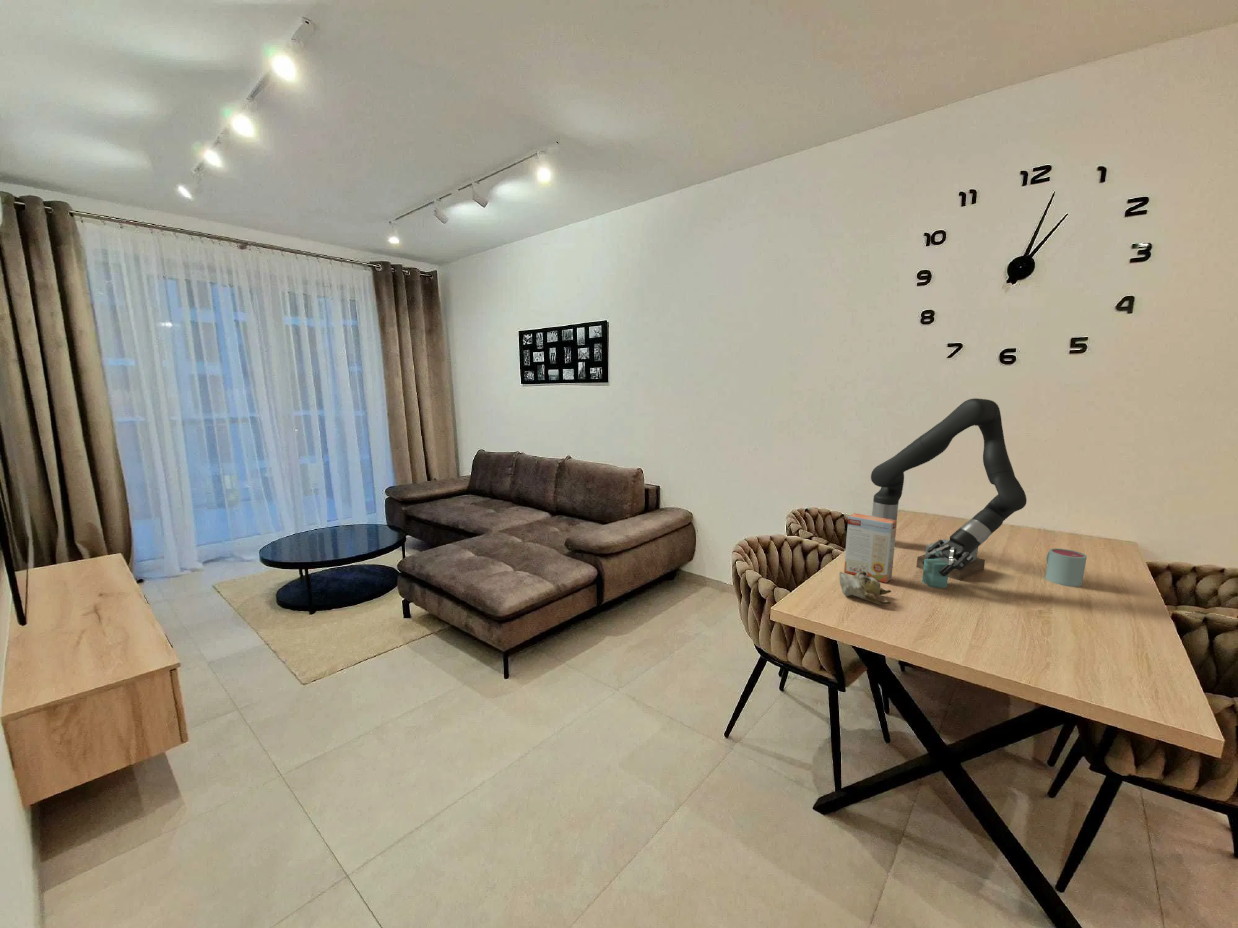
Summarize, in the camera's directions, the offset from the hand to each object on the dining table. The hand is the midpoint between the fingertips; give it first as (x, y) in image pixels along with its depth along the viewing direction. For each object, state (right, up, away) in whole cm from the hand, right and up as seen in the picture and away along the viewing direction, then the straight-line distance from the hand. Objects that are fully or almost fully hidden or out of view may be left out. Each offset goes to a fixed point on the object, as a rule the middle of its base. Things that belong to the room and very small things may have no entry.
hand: (932, 569), depth 161 cm
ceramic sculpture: (-28, -7, -10) cm, 30 cm away
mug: (+48, -5, +6) cm, 48 cm away
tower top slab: (+16, +1, +14) cm, 21 cm away
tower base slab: (+16, -3, +15) cm, 22 cm away
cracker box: (-17, -4, +8) cm, 20 cm away
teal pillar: (+1, -5, +1) cm, 5 cm away
